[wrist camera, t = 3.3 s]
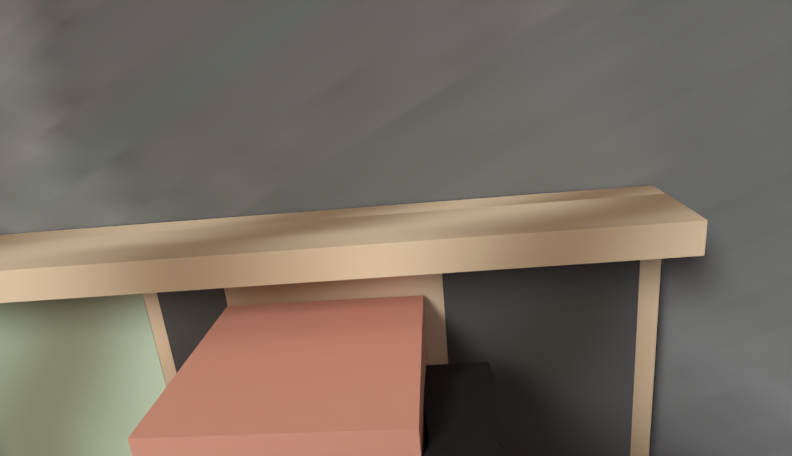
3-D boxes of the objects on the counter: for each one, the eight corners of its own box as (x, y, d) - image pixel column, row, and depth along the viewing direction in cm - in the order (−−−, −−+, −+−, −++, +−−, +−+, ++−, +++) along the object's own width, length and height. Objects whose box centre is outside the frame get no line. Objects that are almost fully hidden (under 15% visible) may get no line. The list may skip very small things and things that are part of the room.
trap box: (652, 185, 11) (707, 220, 9) (635, 488, 13) (675, 572, 11) (-117, 243, 12) (-229, 287, 10) (-6, 514, 14) (-79, 596, 12)
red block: (423, 295, 11) (418, 427, 7) (436, 459, 12) (438, 644, 9) (227, 305, 11) (127, 438, 8) (259, 464, 13) (187, 646, 9)
